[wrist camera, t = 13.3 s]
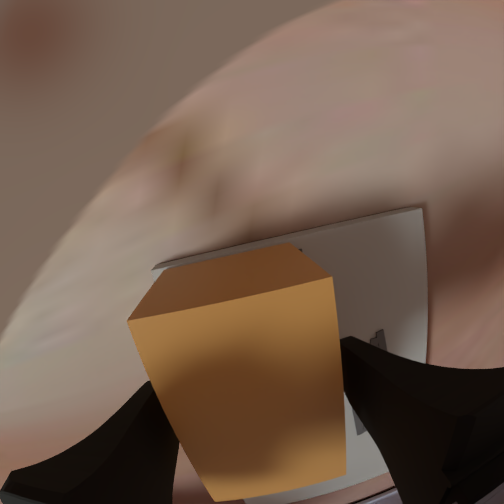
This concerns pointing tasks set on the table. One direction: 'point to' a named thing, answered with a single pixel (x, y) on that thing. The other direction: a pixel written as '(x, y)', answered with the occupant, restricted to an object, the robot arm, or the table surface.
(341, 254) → the board
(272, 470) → the block
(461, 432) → the robot arm
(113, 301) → the table surface
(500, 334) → the table surface
